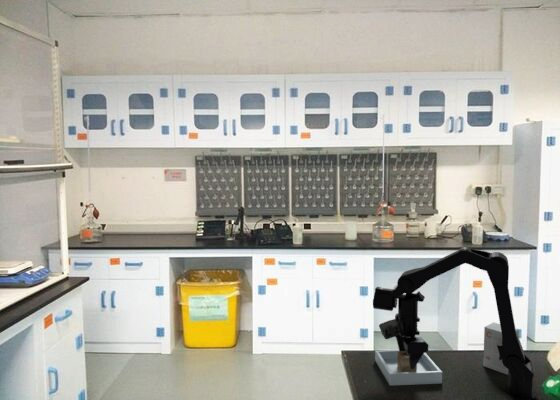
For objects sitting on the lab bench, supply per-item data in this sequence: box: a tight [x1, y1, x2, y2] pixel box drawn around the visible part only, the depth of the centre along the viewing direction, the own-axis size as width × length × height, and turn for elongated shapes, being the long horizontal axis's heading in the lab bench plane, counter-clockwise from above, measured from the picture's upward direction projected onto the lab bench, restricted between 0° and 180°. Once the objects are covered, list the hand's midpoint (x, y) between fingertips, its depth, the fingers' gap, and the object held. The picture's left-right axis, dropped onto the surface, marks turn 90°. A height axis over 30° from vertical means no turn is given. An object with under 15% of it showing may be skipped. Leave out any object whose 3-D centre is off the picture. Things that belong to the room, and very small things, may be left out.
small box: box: [482, 322, 520, 376], centre depth 138 cm, size 8×6×13 cm
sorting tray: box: [374, 349, 443, 386], centre depth 137 cm, size 16×16×4 cm
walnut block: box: [397, 351, 417, 372], centre depth 137 cm, size 4×4×5 cm
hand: (406, 361), depth 137 cm, fingers open, 9 cm apart
